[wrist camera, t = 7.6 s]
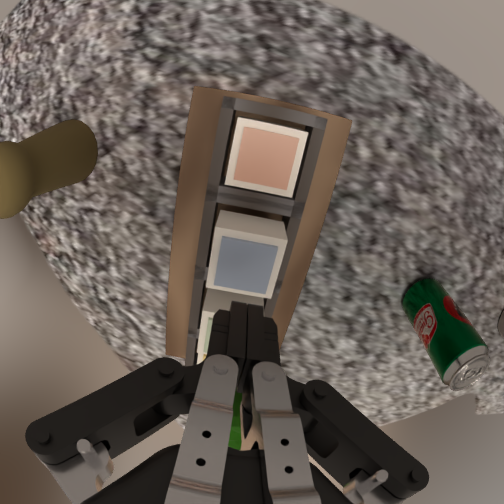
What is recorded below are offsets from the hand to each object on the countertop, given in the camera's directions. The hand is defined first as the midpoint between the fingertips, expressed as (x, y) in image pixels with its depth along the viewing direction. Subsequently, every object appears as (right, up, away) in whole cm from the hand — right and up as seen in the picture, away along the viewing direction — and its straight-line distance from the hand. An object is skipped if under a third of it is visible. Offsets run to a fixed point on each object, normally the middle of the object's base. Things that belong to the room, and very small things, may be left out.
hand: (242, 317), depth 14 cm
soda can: (+19, -1, +15) cm, 24 cm away
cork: (-16, +12, +8) cm, 22 cm away
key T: (0, +4, +8) cm, 8 cm away
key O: (+1, +10, +7) cm, 12 cm away
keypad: (-1, +3, +13) cm, 13 cm away
